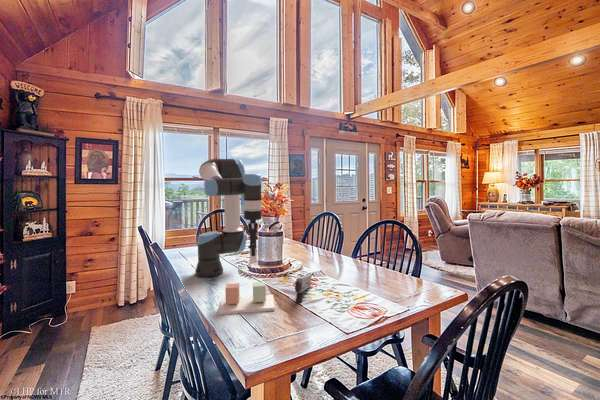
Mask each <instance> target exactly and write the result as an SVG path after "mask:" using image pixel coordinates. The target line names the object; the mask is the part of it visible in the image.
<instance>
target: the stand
mask: <svg viewBox="0 0 600 400" xmlns="http://www.w3.org/2000/svg"><path fill="white" fill-rule="evenodd" d="M224 289H225V292H224V293H225V297H222V299H221V302H220V305H219V309H218V315H231V314H233V315H234V314H246V313H258V312H259V313H260V312H271V311H275V310H276V308H275V307H276V306H275V300H274V299H275V298H274V294H266V301H265V302H253V295H244V296H243V295H242V296H241V295H240V293H241V292H240V283H239V282H237V283H235V282H234V283H226V285H225V288H224Z"/></svg>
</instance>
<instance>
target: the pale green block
mask: <svg viewBox="0 0 600 400" xmlns="http://www.w3.org/2000/svg"><path fill="white" fill-rule="evenodd" d="M266 285H267V284H266V281H256V282H254V281H253V283H252V296H253V302H265V301H266V295H267V294H266V292H267V290H266V287H267V286H266Z"/></svg>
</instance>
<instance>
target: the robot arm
mask: <svg viewBox="0 0 600 400" xmlns="http://www.w3.org/2000/svg"><path fill="white" fill-rule="evenodd" d="M198 172H199V176H200V177H201V179H202V180H204V182H203V184H204V185H203V188H204V191H203V192H204V195H205V196H206V197H207V196H208V197H209V196H210V197H216V196H217V197H218V196H219V197H221V196H222V197H223V196H224V198H223V199H224V201H223V202H224V228H223V229H222V233H219V231H218V230H217V231H216V230H214V231H207V232H203V233H201V234H199V235H198V236H197V242H196V243H197V244H196V245H197V260H198V261H197V263H196V267H195V271H194V272H195V273H194V274H195V276H196V277H197V278H203V279H204V278H213V277H218V276H221V275H222V274H223V273H224V268H223V265H222V262H221V259H220V255H224V254H225V255H226V254H237V253H240V252H243V251H245V248H246V244H247V233H246V232H245V231H244V228H243V227H241V204H242V205H243V219H244V220H246V221H249V222H248V224H247V225H248V226H247V227H248V234H249V245H248V246H247V247H248V249H249V264H257V262H258V258H257V257H258V256H257V255H258V250H257V248H258V245H257V241H258V240H259V237H257V234H258V227H259V226H258V225H259V223H258V222H257V221H259V220H261V219H263V218H262V216H263V213H262V209H263V207H262V206H263V204H262V203H263V201H262V176H261V174H260V173H246V172H245V166H244V163H243V161H242V160H241V159H238V158H237V159H236V158H210V159H209V160H205V162H203V163H202V164H201V165H200V166H199V169H198ZM240 196H243V202H242V203H240V202H241V201H240Z"/></svg>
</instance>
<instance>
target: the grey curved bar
mask: <svg viewBox="0 0 600 400" xmlns="http://www.w3.org/2000/svg"><path fill="white" fill-rule="evenodd" d="M311 284H312V274H308V273H307V274H305V275H304V274H303V276H299V277H297V278H296V280H295V283H294V285H295V286H294V290H295V293H296V297H295V303H298V304H301V303H302V302H303V299H304V298H303V297H304V291H306V290H307V289H309V288H310V287H311Z"/></svg>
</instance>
